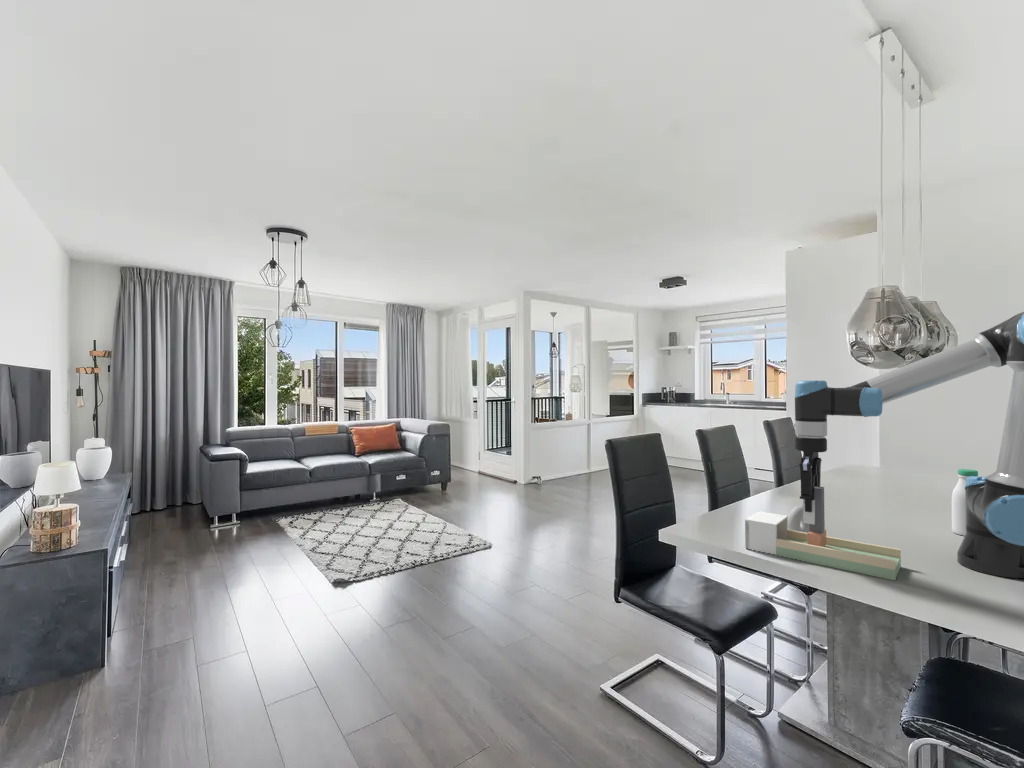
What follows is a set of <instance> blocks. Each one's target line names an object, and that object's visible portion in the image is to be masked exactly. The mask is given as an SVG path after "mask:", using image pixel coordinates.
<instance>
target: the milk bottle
mask: <svg viewBox="0 0 1024 768" xmlns="http://www.w3.org/2000/svg"><path fill="white" fill-rule="evenodd" d="M970 476H979V472H978V470H975V469H970V468H969V469H968V468H967V469H966V468H958V469H957V477H958V481H957V483H956V485H955V486H954V488H953V490H952V493H951V531H952V533H954V534H956V535H960V536H963V537H964V536H965V534H966V495H965V488H964V487H965V484H966V479H967V478H968V477H970Z"/></svg>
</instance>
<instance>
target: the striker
mask: <svg viewBox="0 0 1024 768" xmlns="http://www.w3.org/2000/svg"><path fill="white" fill-rule="evenodd" d="M814 500H815V525H814V524H809V532H808V533H807V534H808V544H810V545H816V546H821V547H824V546H825V545H826V536H827V529H825V525H826V524H825V486H820V487H818V486H814Z"/></svg>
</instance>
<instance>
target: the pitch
mask: <svg viewBox="0 0 1024 768" xmlns="http://www.w3.org/2000/svg"><path fill="white" fill-rule="evenodd" d="M788 517H789V515H785V514H784V515H783V514H778V513H773V512H765V511H760V510H759V511H757V512H754V513H753V514H751V515H750V516H748V517H747V518H745V519H744V522H745V523H744V530H745V532H744V534H745V536H744V537H745V539H744V540H745V543H744V546H745V547H744V549H745V548H749V549H753V550H757V551H756V552H758V551H761V552H760V553H762V552H766V553H765V554H767V553H771V554H770V555H772V554H776V555H775V556H777V555H780V556H779V557H781V556H784V557H783V558H786V557H789V558H788V559H791V558H793V559H792V560H795V559H797V561H800V560H801V562H805V561H806V563H811V564H815V565H820V566H824V567H830V568H832V569H833V568H834V569H839V570H844V571H848V572H852V573H853V572H854V573H858V574H864V575H867V576H872V577H878V578H882V579H886V580H889V581H891V580H892V581H896V579H897V577H898V574H899V572H900V569H901V568H902V565H901V563H902V560H901V559H902V558H901V557H902V555H901V548H895V547H889V546H885V545H878V544H872V543H866V542H862V541H857V540H850V539H844V538H838V537H834V536H828V535H826V545H825V546H824V547H821V546H816V545H810V544H808V534H807V533H805V532H799V531H794V530H789V529H788ZM753 550H752V551H753Z"/></svg>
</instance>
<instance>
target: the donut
mask: <svg viewBox="0 0 1024 768" xmlns="http://www.w3.org/2000/svg"><path fill="white" fill-rule="evenodd" d="M788 530H794V531H799V532H805V533H808V532H809V524H808V523H803V505H796V506H794V507H793V508H792V509H791V510H790V512H789V513H788Z"/></svg>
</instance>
